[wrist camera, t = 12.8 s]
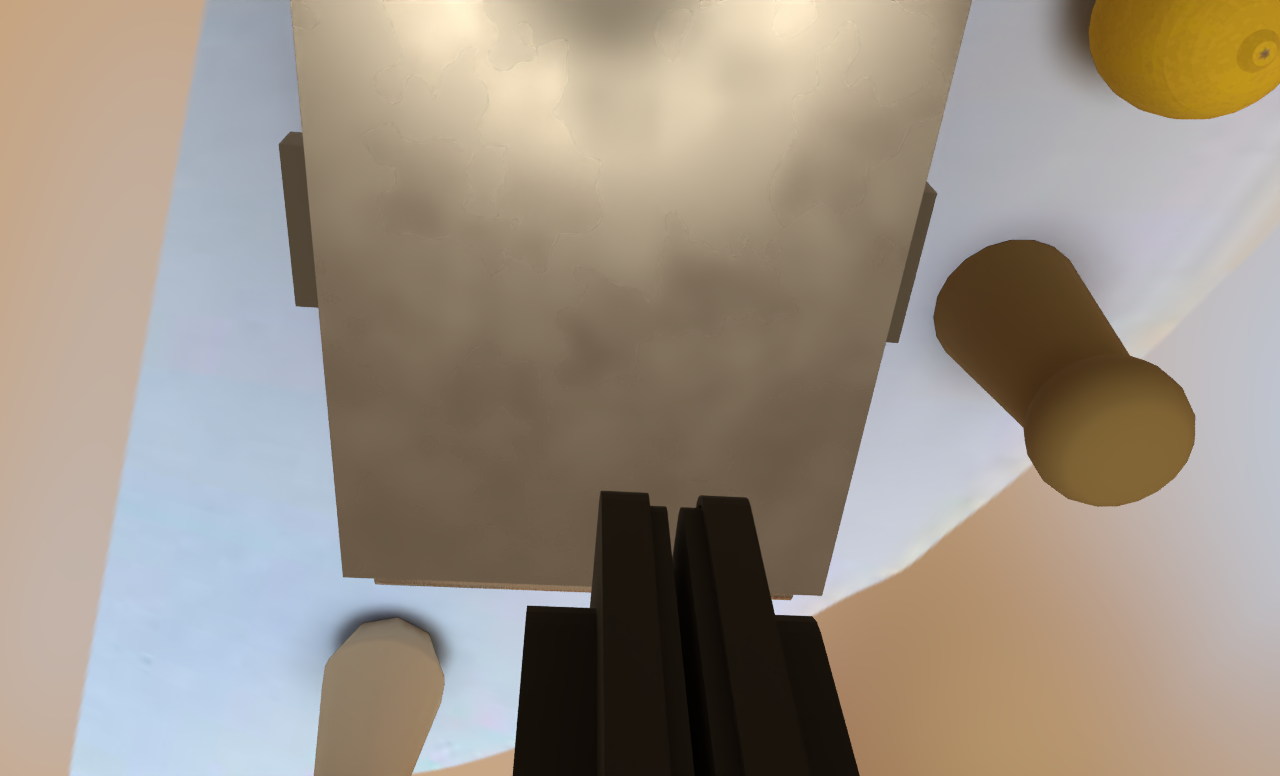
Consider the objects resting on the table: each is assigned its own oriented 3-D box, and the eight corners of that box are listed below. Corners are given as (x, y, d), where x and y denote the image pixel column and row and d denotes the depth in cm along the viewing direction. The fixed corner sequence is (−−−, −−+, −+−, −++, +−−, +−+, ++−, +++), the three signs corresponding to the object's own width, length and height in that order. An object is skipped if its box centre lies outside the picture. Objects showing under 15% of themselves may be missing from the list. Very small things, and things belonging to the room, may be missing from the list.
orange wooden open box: (331, -175, 30) (229, -166, 22) (913, -116, 32) (1029, -87, 23) (366, 374, 40) (307, 524, 32) (805, 399, 42) (858, 547, 34)
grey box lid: (279, -294, 20) (262, -299, 19) (1005, -214, 22) (1026, -215, 21) (352, 566, 33) (344, 591, 32) (811, 584, 34) (818, 608, 33)
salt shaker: (474, 653, 49) (439, 901, 38) (392, 702, 51) (336, 953, 40) (393, 586, 47) (330, 831, 35) (309, 640, 48) (224, 890, 37)
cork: (1015, 390, 42) (1136, 558, 33) (904, 335, 41) (998, 495, 31) (1110, 278, 40) (1270, 426, 30) (995, 214, 38) (1127, 350, 28)
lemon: (1143, -120, 32) (1293, -99, 25) (1243, -15, 34) (1408, 31, 27) (1019, 22, 34) (1126, 77, 27) (1119, 113, 36) (1242, 186, 29)
